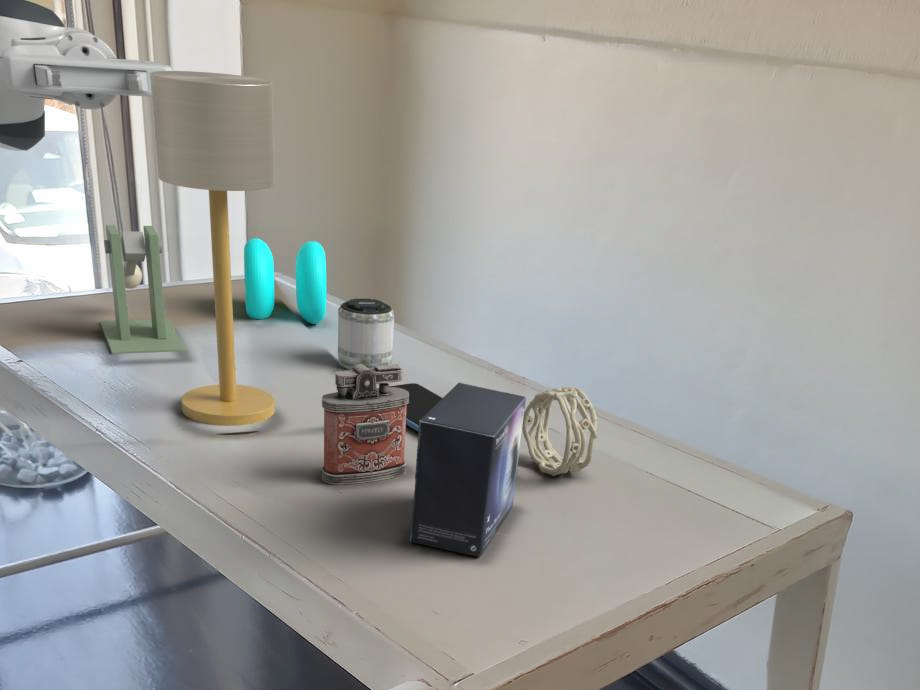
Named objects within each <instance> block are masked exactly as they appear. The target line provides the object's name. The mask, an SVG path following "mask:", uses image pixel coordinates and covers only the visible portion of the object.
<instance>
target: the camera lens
mask: <svg viewBox="0 0 920 690" xmlns="http://www.w3.org/2000/svg"><path fill="white" fill-rule="evenodd" d="M337 313H338V315H337V316H338V317H337V358H338V364H339V366H341V368H342V369H343V371H350V370H352V369H353V367H354V366H355V365H357V364H362V365H364V366H366V367H367V368H368V369H372V368H375V366H384V365H392V364H393V363H392V362H393V355H394V353H393V352H394V351H393V350H394V332H395V331H394V329H395V311H394V310H393V308H392V307H391V306H390V304H387V303H385V302H383V301H381V300H379V299H376V298H350V299H349V300H346V301H344V302H342V303H341V304H340V306H339V307H338V309H337Z"/></svg>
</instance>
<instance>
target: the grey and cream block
mask: <svg viewBox="0 0 920 690" xmlns="http://www.w3.org/2000/svg"><path fill="white" fill-rule="evenodd" d="M120 240H121V250H122V259H123V270H124V279H125V289H126V290H131V289H135V288H137V287H138V286H139V285H141V282H142V280H143V272H142V269H141V268H140V267H139V265H138V262H139V263H140V262H141V263H142V262H145V260H146V249H145V240H144V231H131V230H130V231H122V232H121V235H120Z"/></svg>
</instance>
